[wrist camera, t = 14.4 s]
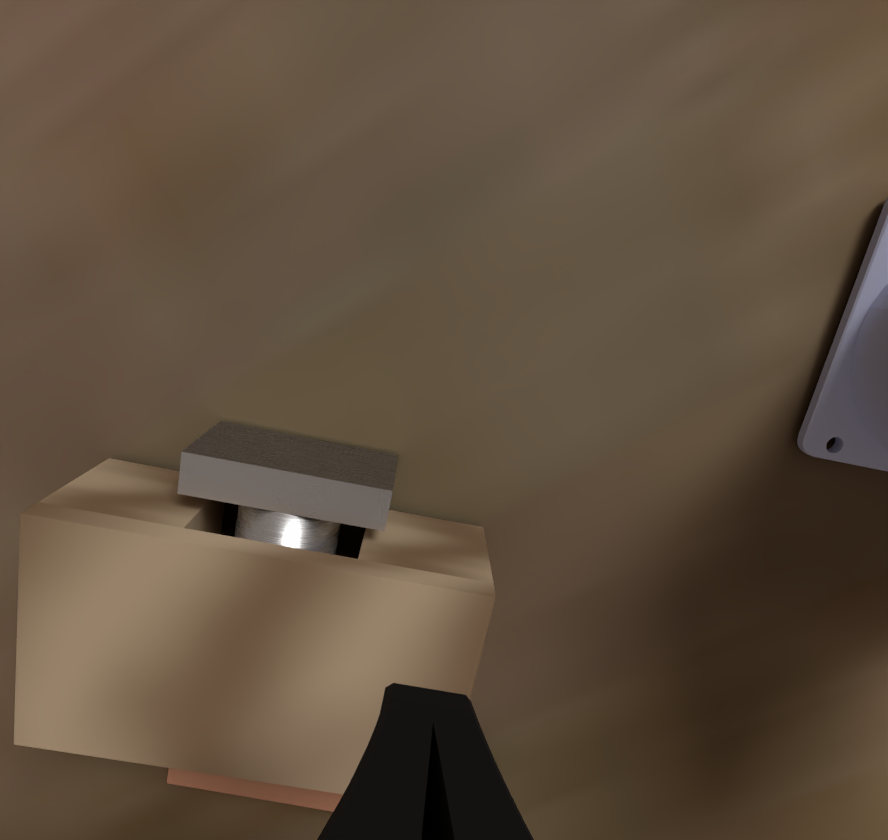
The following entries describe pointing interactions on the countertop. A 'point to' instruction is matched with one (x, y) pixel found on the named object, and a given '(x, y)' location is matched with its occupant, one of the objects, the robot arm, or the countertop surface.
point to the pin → (289, 484)
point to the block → (230, 631)
